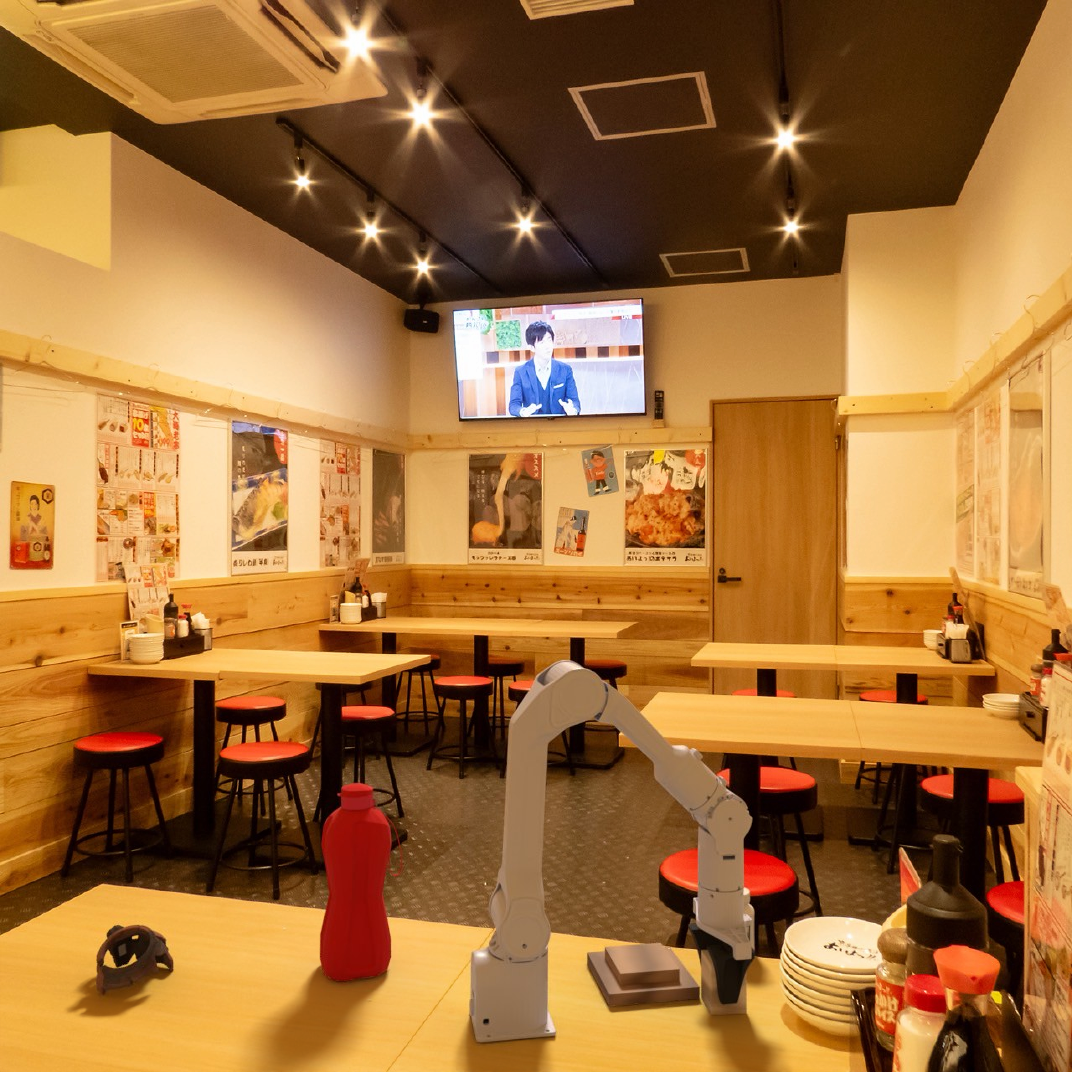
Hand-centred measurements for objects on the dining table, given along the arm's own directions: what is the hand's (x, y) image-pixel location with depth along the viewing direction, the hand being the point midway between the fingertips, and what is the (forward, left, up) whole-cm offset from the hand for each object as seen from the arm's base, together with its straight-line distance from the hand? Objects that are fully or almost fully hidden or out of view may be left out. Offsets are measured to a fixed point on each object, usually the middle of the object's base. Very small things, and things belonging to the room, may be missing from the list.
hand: (720, 992), depth 112 cm
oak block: (0, 0, -2) cm, 2 cm away
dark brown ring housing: (-75, +19, -2) cm, 78 cm away
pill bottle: (+8, +14, -2) cm, 16 cm away
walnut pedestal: (-8, +8, -2) cm, 11 cm away
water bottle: (-45, +18, -2) cm, 48 cm away
